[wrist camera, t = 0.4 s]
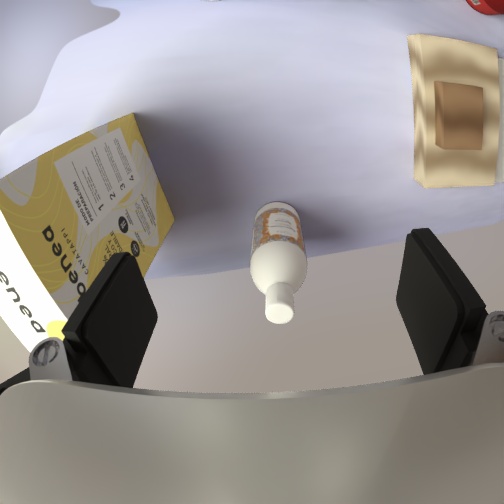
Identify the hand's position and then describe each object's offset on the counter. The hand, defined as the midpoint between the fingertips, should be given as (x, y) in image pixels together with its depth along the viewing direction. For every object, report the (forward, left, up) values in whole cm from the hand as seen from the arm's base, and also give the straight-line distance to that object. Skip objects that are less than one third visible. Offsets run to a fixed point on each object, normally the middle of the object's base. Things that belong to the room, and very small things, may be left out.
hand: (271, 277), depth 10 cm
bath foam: (+16, -1, -34) cm, 38 cm away
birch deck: (0, +28, -34) cm, 44 cm away
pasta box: (+5, -23, -34) cm, 42 cm away
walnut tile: (0, +26, -30) cm, 40 cm away
